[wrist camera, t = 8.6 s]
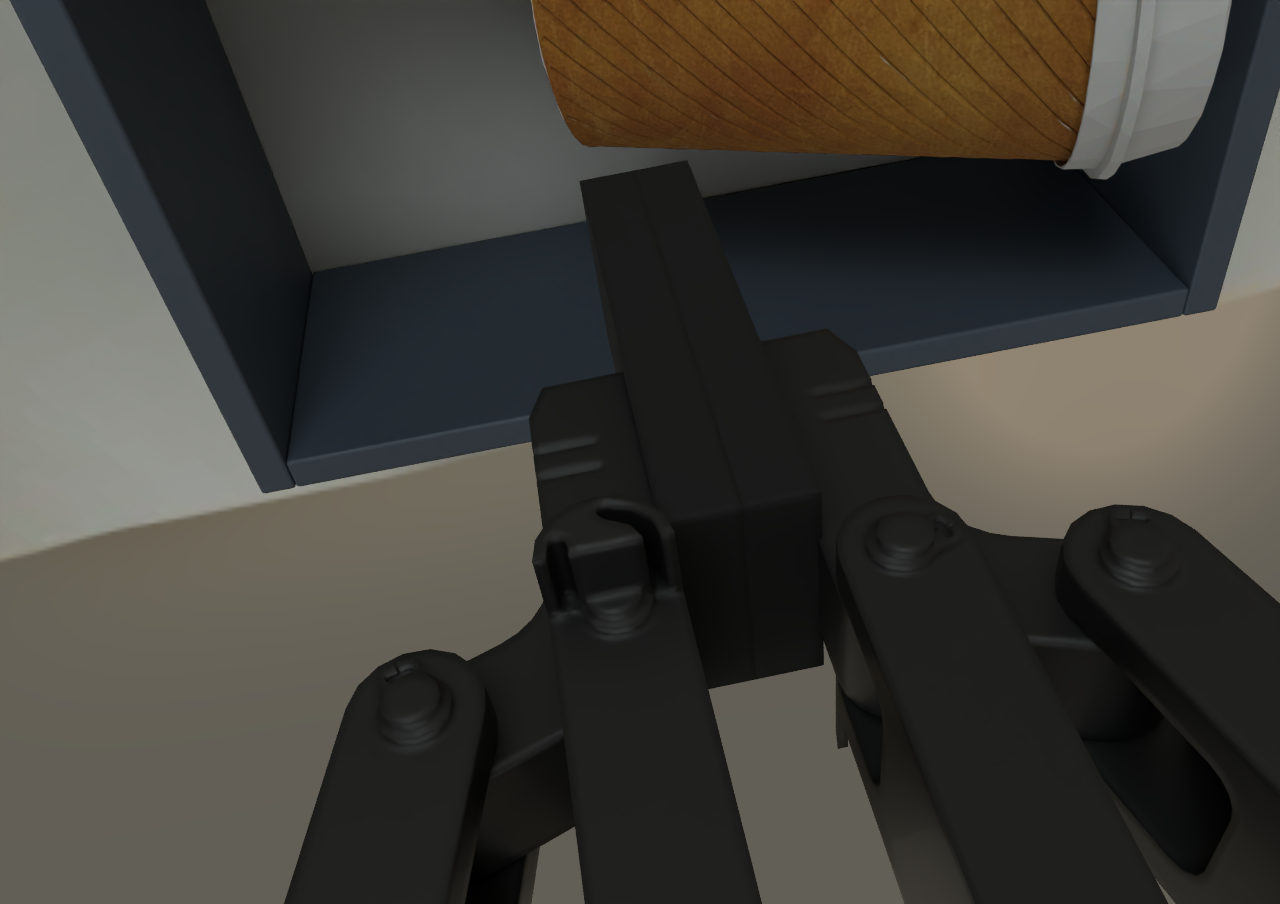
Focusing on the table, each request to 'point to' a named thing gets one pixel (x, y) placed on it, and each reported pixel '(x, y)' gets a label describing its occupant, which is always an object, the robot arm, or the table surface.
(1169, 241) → the bin
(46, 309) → the table surface
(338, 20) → the table surface
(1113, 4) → the disposable coffee cup
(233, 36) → the table surface
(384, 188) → the table surface
